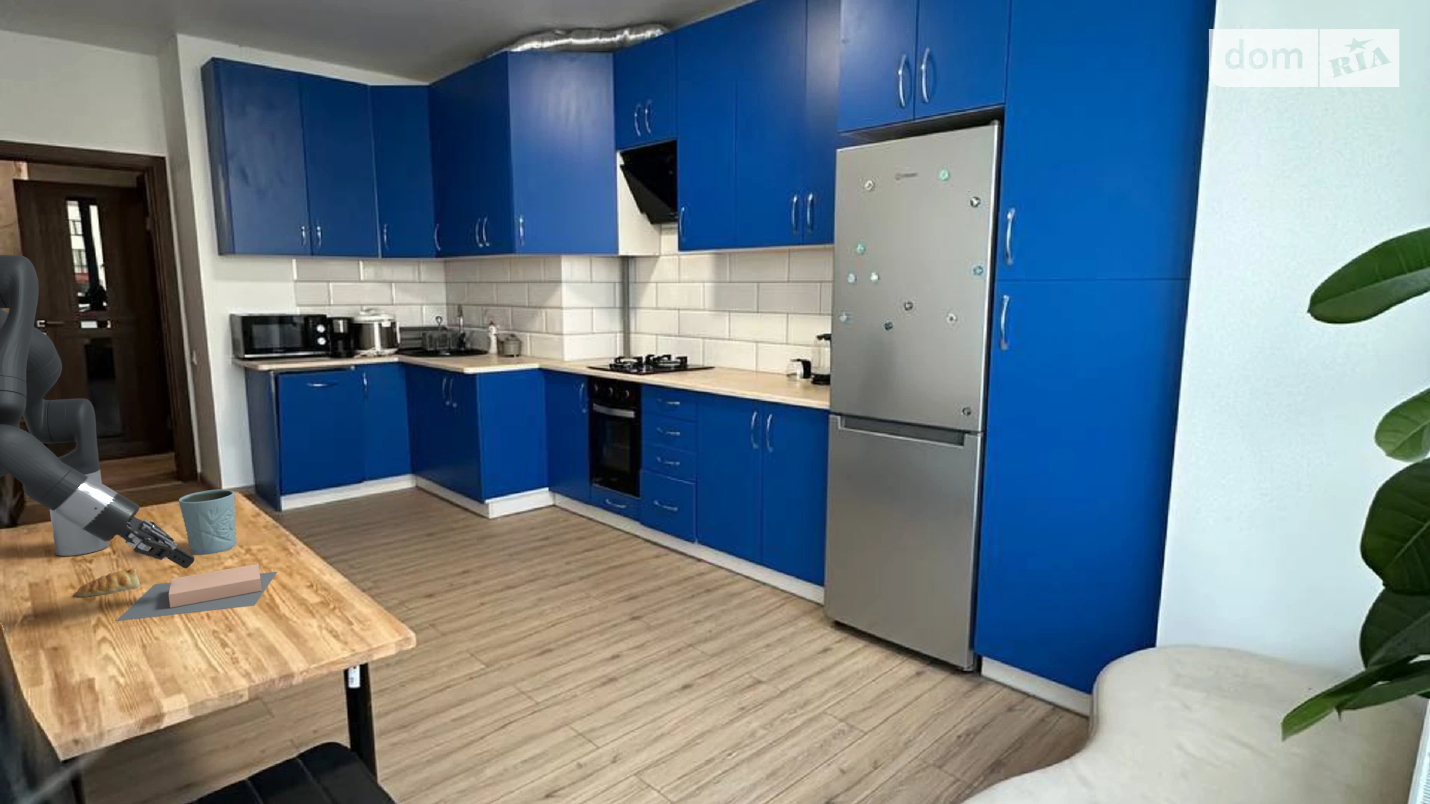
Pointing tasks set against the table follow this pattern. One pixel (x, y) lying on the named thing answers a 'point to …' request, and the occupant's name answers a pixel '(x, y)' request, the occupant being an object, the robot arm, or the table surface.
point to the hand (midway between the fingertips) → (191, 563)
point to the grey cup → (209, 520)
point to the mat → (159, 605)
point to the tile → (214, 585)
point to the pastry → (110, 584)
